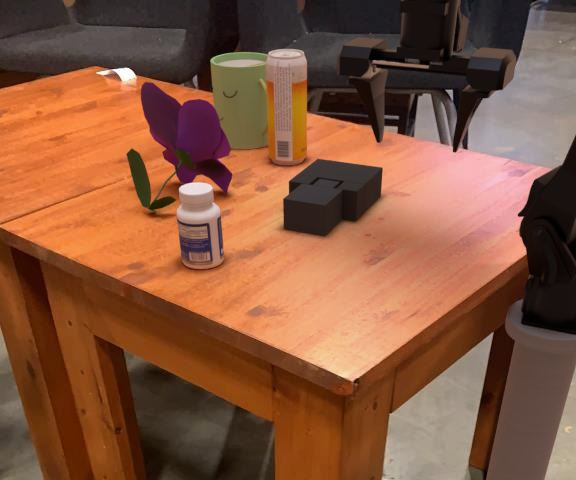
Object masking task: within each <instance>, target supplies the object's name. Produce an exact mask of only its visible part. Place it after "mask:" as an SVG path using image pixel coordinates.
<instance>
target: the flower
mask: <svg viewBox="0 0 576 480" xmlns="http://www.w3.org/2000/svg"><path fill="white" fill-rule="evenodd" d="M140 103H141V107H142V111H143V115H144V119H145V120H146V122H147V125H148V127H149V128H148V129H149V134H150V135H151V137H152V138H153V140H154V141H155V143H158V144H159V145H160V146H162V147H163V148H164V150H162V151H161V153H162V156H163V159H164V160H165V161H166V162H168V163H170V164H171V165H172V166H173V167H174V170H175V171H174V172H173V173H172V174H171V175H170V176H168V178H167V179H166V180H165V181H164V182H163V184H162V186H161V188H160V189H159V191H158V193H157V195H156V196H155V198H154V199H153V200H152V190H151V189H152V188H151V182H150V181H151V180H150V177H149V175H148V172H147V171H148V170H147V167H146V164H145V162H144V160H143V158H142V156H141V154H140V152H139V151H138V150H136V149H134V148H133V147H132V148H130V149H129V151H127V152H126V158H127V161H128V166H129V170H130V175H131V178H132V182H133V186H134V190H135V193H136V195H137V198H138V200H139V202H140V204H141V206H142V207H143V208H146V209H148V211H151V212H154V213H157V211H156V210H160V209H163V208H166V207H168V206H171V205H172V204H174V203H176V202H177V199H176V198H175V197H174V196H168V195H167V196H163V197H160V195H161V194H162V191H164V188H165V187H166V184H167V183H168V182H171V179H172V178H173V177H174V176H175V175H176V177H177V179H178V181H179V183H181V184H184V185H185V184H188V183H194V180H195V179H196V178H197V176H204V177H206V178H208V179H210V180H211V181H212V182H213V183H214V184H215V185H216V186H217V187H218V188H220V190H221V191H222V192H223V193H224V194H228V191H229V187H230V184H231V182H232V179H233V173H232V172H231V171H230V169H229V168H228V167H227V166H226V165H225V163H223V162H222V161H221V160H220V159H223V158H225V157H228V156H230V153H231V151H232V148H231V147H230V144H229V142H228V139H227V136H226V134H225V133H224V131H223V130H222V128H221V126H220V121H219V116H218V114H217V112H216V110H215V108H214V104H212V103H210V101H208V100H205V99H201V98H197V99H188V100H186V101H184V102H183V103H182V104H181V103H180V102H179V101H178V99H176V98H175V97H173V96H171V95H170V94H168V93H166V92H165V91H164V90H163V89H161V88H160V87H159V86H157V84H155V83H154V82H151V81H145V82H143V84H142V85H141V89H140ZM159 197H160V198H159Z"/></svg>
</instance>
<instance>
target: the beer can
mask: <svg viewBox="0 0 576 480" xmlns="http://www.w3.org/2000/svg"><path fill="white" fill-rule="evenodd" d="M267 55H268V58H267V60H266V84H267V116H268V158H270V159H271V161H272V163H274V164H275V165H279V166H295V165H299V164H302V163H303V162H304V159H306V157H307V156H308V61H307V58H306V55H305V52H304V50H301V49H295V48H279V49H274V50H270V51H269V52H268V54H267Z"/></svg>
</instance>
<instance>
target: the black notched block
mask: <svg viewBox="0 0 576 480" xmlns="http://www.w3.org/2000/svg"><path fill="white" fill-rule="evenodd" d="M383 168H384V167H382V166H373V165H367V164H360V163H352V162H345V161H337V160H331V159H323V158H316V159H315V160H314V161H312V162H311V163H310V164H309V165H307V167H305V168H304V169H302V170H301V171H300V172H299V173H297V174H296V175H295V176H293V177H292V178H291V179H289V181H288V194H290V193H291V192H292V191H293V190H295V189H296V188H297V187H298V186H300V185H301V184H308V185H313V184H314V183H315V182H317V181H318V180H319V179H324V180H331V181H338V182H340V186H339V187H338V188H337V189H342V190H343V204H342V220H347V221H353V222H357V221H358V220H359V219H360V218H361V217H362V216H363V215H364V214H365V213H366V212H367V211H368V210H369V209H370V208H371V207H372V206H373V204H375V203H376V202H377V201H378V200H379V199H380V198H381V197H382V186H383V184H382V183H383V172H384V171H383V170H384V169H383Z"/></svg>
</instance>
